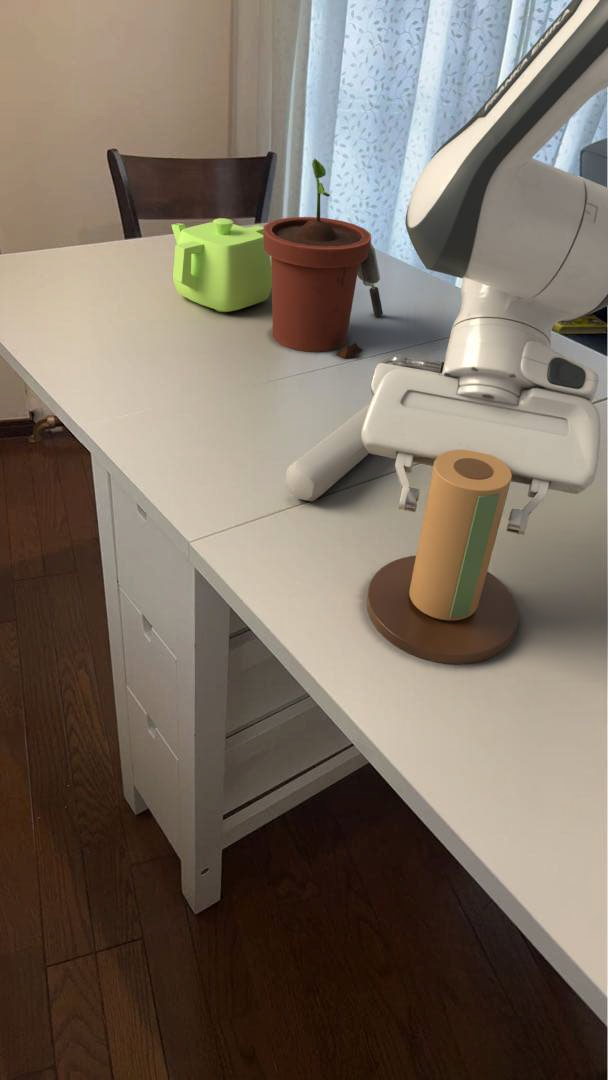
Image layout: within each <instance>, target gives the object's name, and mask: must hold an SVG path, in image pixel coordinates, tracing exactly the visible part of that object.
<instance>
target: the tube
mask: <svg viewBox="0 0 608 1080" xmlns="http://www.w3.org/2000/svg"><path fill="white" fill-rule="evenodd" d="M370 403H371V402H369V403H368V404H366V405H365V406H364V407H363V408H361V409H360V410H359V411H358V412H356V413H355V414H354V415H353V416H351V417H350V418H349V419H347V420H345V421H344V422H343V423H342V424H341V425H340V426H338V427H337V428H336V429H335V430H333V431H332V432H331V433H330V434H328V435H327V436H326V437H324V438H323V439H322V440H321V441H319V442H317V443H316V444H315V445H314V446H313V447H312V448H310V449H309V450H307V452H305V453H304V454H302V455H301V456H300V457H299V458H297V459H296V460H295V461H294V462H293V463H292V464H291V465H289V466H288V467H287V470H286V473H285V483H286V487H287V489H288V491H289V492H290V494H291V497H292V498H293V499H298V500H303V501H308V502H311V503H313V502H314V501H316V500H317V499H319V497H321V496H322V495H323V494H325V493H326V492H327V491H328V490H329V489H330V488H331V487H332V486H334V485H335V484H336V483H337V482H338V481H339V480H340V479H341V478H342V477H344V476H345V475H346V474H347V473H349V472H350V471H351V470H352V469H353V468H354V467H355V466H356V465H357V464H359V463H360V462H361V461H362V460H364V458H366V457H367V456H368V455H370V453H369V452H368V451H367V449H366V448H365V446H364V444H363V442H362V438H361V432H362V428H363V424H364V421H365V417H366V414H367V411H368V409H369V406H370Z"/></svg>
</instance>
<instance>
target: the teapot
mask: <svg viewBox="0 0 608 1080" xmlns="http://www.w3.org/2000/svg"><path fill="white" fill-rule="evenodd" d="M171 228H172V232H173V235H174V238H175V242H176V244H175V246H174V257H173V258H174V259H173V270H172V281H173V284H174V286H175V289H176V291H177V293H178V294H179V295H181V297H184V298H186V299H188V300H190V301H191V302H193V303H196V304H199V305H202V306H204V307H208V308H210V309H214V311H216V312H217V313H229V312H234V311H238V310H241V309H245V308H247V307H251V306H253V305H257V304H259V303H261V302H265V301H267V299H269V296H270V294H271V293H272V266H271V256H270V255H268V254H267V252H266V251H265V250H264V238H263V228H264V226H261V225H258V224H256V225H252V226H249V227H244V226H241V225H238V224H235V223H234V221H233V220H232V219H229V218H225V217H219V218H215V219H213V220H212V221H211V222H206V223H201V224H198V225H192V226H189V227H186V225H185V223H173V224H171Z"/></svg>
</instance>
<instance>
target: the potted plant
mask: <svg viewBox="0 0 608 1080" xmlns="http://www.w3.org/2000/svg"><path fill="white" fill-rule="evenodd" d="M311 166H312V170H313V174H314V178H315V181H316V216H315V217H314V216H291V217H283V218H278V219H275V220H271V221H269V222H267V223H266V224H264V226H263V227H264V228H263V238H264V250H265V251H266V252H267V254H268V255H270V260H271V267H272V289H271V301H272V302H271V308H272V310H271V311H272V312H271V313H272V337H273V340H275V342H277V343H279V344H280V345H281V346H284V347H286V348H289V349H291V350H297V351H301V352H313V353H318V352H328V351H333V350H337V349H339V348H340V349H339V351H337V352H336V354H335V355H336V356H338V357H340V358H342V359H352V358H354V359H355V358H357V354H358V353H360V352H362V351H363V350H362V348H361V347H360V346H359V345H358V343H357V342H354V343H352V344H350V343H347V344H346V345H345V343H346V342H347V338H348V333H349V326H350V320H351V316H352V315H351V314H352V309H353V303H354V296H355V291H356V284H357V281H358V280H357V279H359V280H361V281H362V284H363V286H365V287H370V288H369V289H368V290H369V295H370V301H371V307H372V311H373V316H374V317H376V318H381V317H382V316H383V315H384V312H383V308H382V301H381V296H380V290H379V287H378V286H375V284H377V283H379V281H380V280H381V275H380V269H379V265H378V259H377V253H376V249H375V248H374V245H373V244H372V234H371V233H370V231H368V230H367V229H365V228H364V227H362V226H359V225H357V224H355V223H351V222H348V221H344V220H340V219H333V218H327V217H321V195H323V196H326V197H331V194H330V193H328V192H326V191H325V190H326V189H325V187H324V184H323V183H322V182H320V179H321V178H323V177H325V176H326V174H327V171H326V168H325V166H324V165H323V164H322V163H321V162H320V161H319V160H317V159H316V158H315V157H314V158H313V160H312V163H311ZM341 347H342V348H341Z"/></svg>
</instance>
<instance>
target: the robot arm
mask: <svg viewBox="0 0 608 1080" xmlns="http://www.w3.org/2000/svg"><path fill="white" fill-rule="evenodd" d="M607 88H608V0H571V1H570V2H569V3H568V4H567V5H566V7H565V8H564V9H563V10H562V11H561V12H560V13H559V15H558V16H557V17H556V18H555V19H554V21H553V22H552V23H551V24H550V25H549V27H548V28H546V30H545V31H544V32H543V34H542V35H541V36H540V37H539V38H538V39H537V41H536V42H535V43H534V45H533V46H532V47H530V49H529V50H528V51H527V52H526V54H525V55H524V56H523V58H522V59H521V60H519V62H518V63H517V64H516V66H515V67H514V68H513V69H512V70H511V72H510V73H509V74H508V75H507V77H506V78H505V79H504V80H503V81H502V82H501V83H500V85H498V87H497V88H496V89H495V91H494V92H493V93H492V94H491V95H490V97H489V98H488V99H487V100H486V101H485V102H484V104H483V105H482V106H480V108H479V109H478V111H476V113H475V114H474V115H473V116H472V117H471V118H470V119H469V120H468V121H467V123H465V124H464V125H463V126H462V127H460V129H458V130H457V131H456V132H455V133H454V134H452V136H451V137H449V139H447V140H446V141H445V142H444V143H443V144H442V145H441V146H440V147H438V149H437V150H436V151H435V153H433V155H432V156H431V158H430V159H429V161H428V162H427V164H426V165H425V167H423V169H422V171H421V173H420V174H419V175H418V178H417V180H416V182H415V184H414V187H413V189H412V192H411V195H410V199H409V202H408V205H407V209H406V213H405V222H404V224H405V229H406V232H407V234H408V237H409V240H410V242H411V244H412V247H413V249H414V251H415V252H416V254H417V256H418V258H419V259H420V261H421V262H422V264H423V266H424V267H425V268H426V270H429V271H433V272H437V273H440V274H445V275H448V276H451V277H455V278H459V279H462V282H461V288H460V293H461V294H460V296H461V307H460V309H459V313H458V315H457V317H456V318H455V320H454V322H453V324H452V327H451V330H450V331H451V332H450V335H449V339H448V344H447V348H446V352H445V356H444V361H440V360H433V359H427V358H416V357H411V356H408V355H406V354H405V355H404V354H394V356H393V357H388V358H385V359H383V360H382V361H379V363H378V364H377V365H376V366H375V368H374V370H373V374H372V378H371V383H370V393H371V394H372V398H371V401H370V402H369V403H370V406H369V409H368V411H367V414H366V417H365V421H364V424H363V428H362V432H361V438H362V442H363V444H364V446H365V448H366V449H367V451H368V452H369V455H370V454H371V455H376V456H381V457H385V458H390V459H395V463H394V465H395V466H394V468H395V472H396V476H397V479H398V482H399V485H400V488H401V494H400V499H399V503H398V509H399V510H402V511H406V512H412V513H416V510H417V507H418V502H419V498H420V489H418V488H414V487H411V484H410V481H409V478H408V474H410V473H412V472H413V471H412V470H413V466H414V463H415V464H420V465H424V466H425V465H426V466H430V467H433V466H434V462H435V460H436V458H437V457H438V456H439V455H441V454H443V453H445V452H448V451H452V450H469V451H474V452H479V453H484V454H489V455H492V456H494V457H496V458H498V459H499V460H501V461H502V462H504V463H505V464H506V465H507V466H508V467H509V469H510V471H511V474H512V479H511V483H517V484H520V485H521V484H522V485H527V486H528V491H527V497H528V498H531V500H529V502H528V503H526V505H525V506H524V507H523V508H522V509H517V508H511V511H510V512H509V516H508V523H507V526H506V529H505V530H506V532H509V533H513V534H517V535H525V533H526V531H527V528H528V527H527V526H528V522H529V517H530V515H531V514H532V513H533V512H534V511H535V510H536V508H538V506H539V505H540V504H541V503H542V502H543V501H544V500H545V498H546V497H547V495H548V491H549V490H552V491H553V490H554V491H556V492H557V491H558V492H561V493H562V492H563V493H567V494H573V495H579V494H581V493H582V492H583V491H585V490H586V489H588V488H589V487H590V486H591V485H592V484H593V483H594V481H595V479H596V477H597V471H598V466H599V459H600V450H601V428H602V427H601V417H600V413H599V410H598V409H597V406H595V404H594V403H593V401H594V398H595V395H596V393H597V389H598V385H599V375H598V374H597V372H595V370H593V369H591V368H589V367H587V366H585V365H583V364H581V363H579V362H577V361H575V360H573V359H570V358H569V357H567V356H566V355H563V354H561V353H559V352H557V351H555V350H554V349H552V348H551V347H552V340H551V338H552V337H551V336H552V331H553V328H554V326H555V325H556V324H557V323H559V322H562V321H564V322H565V323H566V322H572V321H575V320H579V319H581V318H583V317H586V316H589V315H591V314H593V313H595V312H598V311H600V310H602V309H604V308H606V307H608V187H607V186H605V185H602V184H599V183H598V182H595V181H593V180H590V179H588V178H585V177H582V176H580V175H575V174H572V173H569V172H568V171H565V170H563V169H560V168H558V167H556V166H553V165H552V164H551V165H550V164H548V163H547V162H543V161H542V160H538V159H536V158H534V157H535V156H536V155H537V154H538V152H539V151H540V150H542V149H543V147H544V146H545V145H546V144H547V143H549V141H550V140H551V139H552V138H554V136H556V134H557V133H558V132H559V131H560V130H561V129H562V128H563V127H564V126H565V125H566V124H567V123H568V121H570V120H571V119H572V117H574V116H575V115H576V113H578V111H579V110H580V109H581V108H582V107H583V106H585V104H586V103H588V101H590V100H591V98H593V97H594V96H595V95H597V94H598V93H599V92H601V91H603V90H605V89H607ZM407 473H408V474H407Z"/></svg>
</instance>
